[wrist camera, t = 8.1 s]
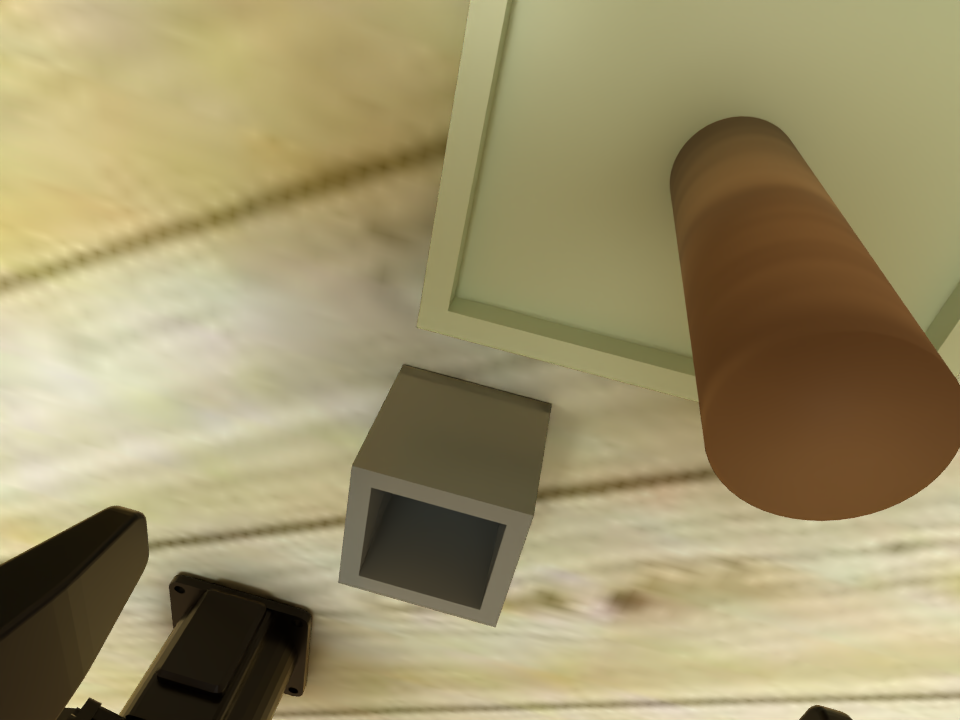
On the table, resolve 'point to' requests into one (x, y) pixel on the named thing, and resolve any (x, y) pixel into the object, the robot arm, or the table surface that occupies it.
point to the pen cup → (444, 494)
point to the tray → (653, 149)
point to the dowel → (800, 337)
